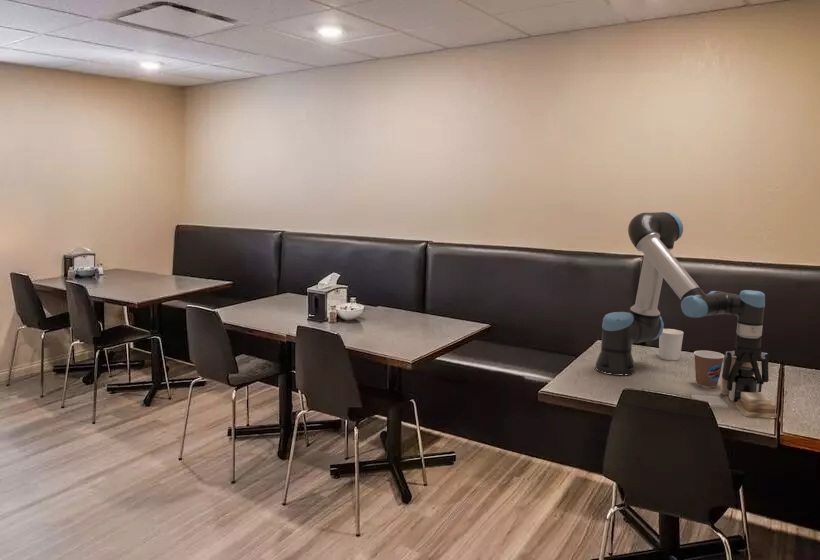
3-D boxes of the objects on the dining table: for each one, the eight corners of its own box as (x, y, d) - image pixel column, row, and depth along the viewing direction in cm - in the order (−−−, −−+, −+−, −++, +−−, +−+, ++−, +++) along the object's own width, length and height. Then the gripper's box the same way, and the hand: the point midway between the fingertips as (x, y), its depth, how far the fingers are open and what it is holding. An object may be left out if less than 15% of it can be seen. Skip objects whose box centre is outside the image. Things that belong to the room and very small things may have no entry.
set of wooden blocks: (746, 416, 188) (750, 375, 186) (720, 392, 210) (723, 355, 208) (776, 418, 186) (780, 376, 184) (747, 394, 209) (750, 356, 207)
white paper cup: (685, 361, 250) (687, 334, 248) (662, 361, 250) (664, 333, 249) (675, 354, 260) (677, 328, 258) (653, 354, 260) (655, 328, 258)
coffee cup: (708, 390, 213) (711, 359, 211) (685, 382, 222) (687, 352, 220) (728, 387, 217) (730, 356, 215) (704, 379, 226) (706, 349, 224)
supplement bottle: (758, 405, 198) (761, 371, 196) (738, 404, 198) (741, 371, 197) (747, 398, 205) (750, 365, 203) (727, 397, 205) (730, 365, 203)
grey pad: (699, 406, 197) (699, 403, 197) (691, 397, 206) (691, 394, 206) (727, 407, 196) (727, 405, 195) (718, 398, 204) (718, 396, 204)
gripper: (721, 337, 196) (716, 402, 200) (785, 339, 193) (778, 405, 196) (714, 332, 203) (708, 394, 207) (775, 334, 200) (768, 398, 204)
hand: (742, 399), depth 202 cm, fingers closed on supplement bottle, 7 cm apart
